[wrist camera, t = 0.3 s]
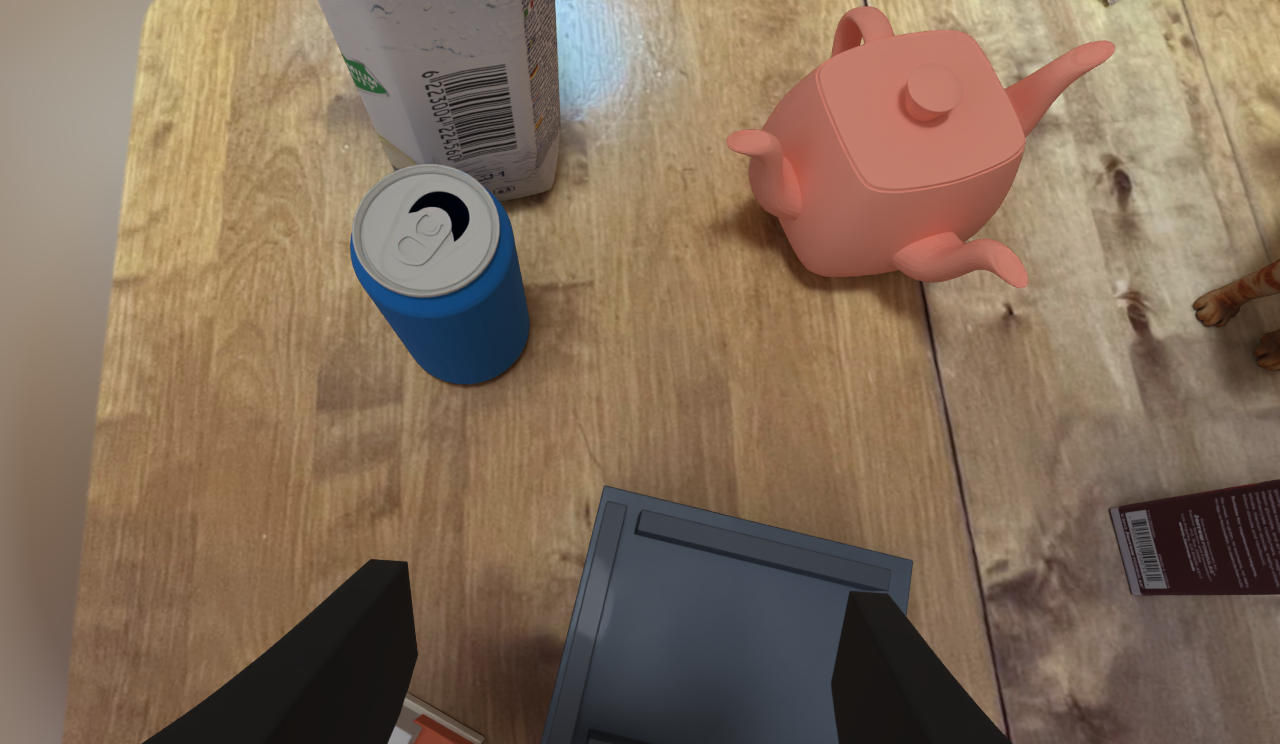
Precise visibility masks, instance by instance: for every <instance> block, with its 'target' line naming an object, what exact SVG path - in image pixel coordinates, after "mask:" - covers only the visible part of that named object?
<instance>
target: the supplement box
mask: <svg viewBox="0 0 1280 744" xmlns="http://www.w3.org/2000/svg"><path fill="white" fill-rule="evenodd" d="M1110 512H1111V515H1112V519H1113V523H1114V527H1115V531H1116V535H1117V539H1118V542H1119V547H1120V550H1121V554H1122V558H1123V562H1124V566H1125V571H1126V574H1127V578H1128V581H1129V584H1130V589H1131V593H1132V594H1133V595H1270V594H1280V479H1278V480H1272V481H1266V482H1260V483H1254V484H1249V485H1243V486H1237V487H1231V488H1225V489H1219V490H1213V491H1208V492H1202V493H1196V494H1190V495H1184V496H1178V497H1172V498H1166V499H1160V500H1154V501H1148V502H1142V503H1136V504H1130V505H1125V506H1120V507H1114V508H1111V509H1110Z"/></svg>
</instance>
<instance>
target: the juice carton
mask: <svg viewBox="0 0 1280 744" xmlns="http://www.w3.org/2000/svg"><path fill="white" fill-rule="evenodd" d="M318 2H319V4H320V6H321V8H322V11H323V13H324V15H325V17H326V20H327V22H328V24H329V26H330V29H331V31H332V33H333V35H334V38H335V40H336V42H337V44H338V47H339V49H340V51H341V53H342V56H343V58H344V60H345V62H346V65H347V67H348V69H349V71H350V74H351V76H352V78H353V80H354V83H355V85H356V87H357V89H358V92H359V94H360V96H361V98H362V101H363V103H364V105H365V107H366V110H367V112H368V114H369V116H370V119H371V121H372V123H373V125H374V127H375V130H376V132H377V134H378V136H379V139H380V141H381V143H382V145H383V147H384V150H385V152H386V154H387V156H388V158H389V160H390V162H391V164H392V166H393V168H394V170H395V171H397V170H400V169H403V168H406V167H410V166H414V165H422V164H437V165H444V166H448V167H452V168H455V169H458V170H460V171H463V172H464V173H466V174H468V175H470V176H471V177H473V178H474V179H476V180H477V181H478V182H479V183H480V184H481V185H482V186H484V187H485V188H487V189H488V190H489V191H490V192H491V193H492V194H493V195H494V196H495V197H496V198H497V199H498V201H499V202H501V201H506V200H511V199H516V198H521V197H526V196H530V195H535V194H539V193H542V192H545V191H548V190H549V189H551V187H552V186H553V183H554V178H555V173H556V166H557V159H558V152H559V144H560V103H559V79H558V56H557V34H556V11H555V0H318Z"/></svg>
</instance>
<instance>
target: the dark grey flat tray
mask: <svg viewBox="0 0 1280 744" xmlns="http://www.w3.org/2000/svg"><path fill="white" fill-rule="evenodd" d="M912 566H913V561H912V560H909V559H905V558H901V557H896V556H892V555H888V554H884V553H880V552H876V551H872V550H868V549H864V548H860V547H855V546H851V545H847V544H843V543H839V542H835V541H831V540H827V539H823V538H818V537H814V536H810V535H806V534H802V533H798V532H794V531H790V530H786V529H782V528H777V527H773V526H769V525H765V524H761V523H757V522H753V521H749V520H745V519H740V518H736V517H732V516H728V515H724V514H720V513H716V512H712V511H708V510H704V509H699V508H695V507H691V506H687V505H683V504H679V503H675V502H671V501H667V500H662V499H658V498H654V497H650V496H646V495H642V494H638V493H634V492H630V491H626V490H621V489H617V488H613V487H609V486H604V488H603V492H602V496H601V500H600V504H599V508H598V512H597V516H596V520H595V524H594V528H593V532H592V536H591V540H590V545H589V549H588V553H587V557H586V561H585V565H584V569H583V573H582V577H581V581H580V585H579V589H578V593H577V597H576V601H575V606H574V610H573V614H572V618H571V622H570V626H569V630H568V634H567V638H566V642H565V646H564V650H563V654H562V658H561V662H560V667H559V671H558V675H557V679H556V683H555V687H554V691H553V695H552V699H551V703H550V707H549V711H548V715H547V719H546V723H545V727H544V732H543V736H542V740H541V744H839V742H838V735H837V728H836V721H835V714H834V706H833V698H832V690H831V680H832V675H833V670H834V665H835V660H836V655H837V650H838V645H839V641H840V636H841V631H842V626H843V621H844V616H845V611H846V606H847V601H848V596H849V591H859V592H875V593H888V594H889V595H890V597H891V598H892V599H893V600H894V601H895V603H896V604H897V605H898V606H899V608H900V609H901V610H902V612H903V613H904V614H905V616H906V614H907V606H908V598H909V590H910V582H911V574H912Z"/></svg>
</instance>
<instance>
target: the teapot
mask: <svg viewBox="0 0 1280 744" xmlns="http://www.w3.org/2000/svg"><path fill="white" fill-rule="evenodd" d="M862 37H863V40H864V43H865V44H864V45H861V46H860V43H861V39H862ZM1114 51H1115V46H1114V44H1113V43H1111V42H1109V41H1095V42H1090V43H1087V44H1084V45H1081V46H1079V47H1077V48H1074V49H1073V50H1071V51H1069V52H1067V53H1066V54H1064V55H1062V56H1060V57H1059V58H1057V59H1055V60H1054V61H1052V62H1050V63H1049V64H1047V65H1046V66H1044V67H1042V68H1041V69H1039V70H1037V71H1036V72H1034V73H1032V74H1031V75H1029V76H1027V77H1026V78H1024V79H1022V80H1021V81H1019V82H1017V83H1015V84H1013V85H1012V86H1010V87H1008V88H1006V89H1004V88H1003V87H1002V85H1001V83H1000V81H999V79H998V77H997V75H996V73H995V71H994V69H993V68H992V66H991V64H990V62H989V60H988V59H987V57H986V55H985V54H984V52H983V51H982V49H981V48H980V46H979V45H978V43H977V42H976V41H975V40H974V39H973V38H972V36H970V35H968V34H966V33H963V32H960V31H953V30H935V31H924V32H916V33H909V34H903V35H897V36H894V33H893V30H892V27H891V25H890V22H889V20H888V19H887V17H886V16H885V15H884V14H883V12H881V11H880V10H878V9H876V8H874V7H868V6H864V7H858V8H854V9H852V10H850V11H848V12H847V13H845V14H844V15H843V17H842V18H841V20H840V22H839V24H838V27H837V30H836V33H835V38H834V43H833V48H832V55H831V58H830V59H828V60H826V61H825V62H824V63H822V64H821V65H820V66H818V67H817V68H816V69H815V70H813V71H812V72H811V73H810V74H808V75H807V76H806V77H805V78H804V79H803V80H801V81H800V82H799V83H798V84H797V85H796V86H795V87H794V88H792V89H791V90H790V91H789V92H788V93H787V94H786V95H785V96H784V98H783V99H782V100H781V101H780V102H779V103H778V105H777V106H776V108H775V109H774V111H773V112H772V114H771V115H770V117H769V118H768V120H767V122H766V123H765V125H764V127H763V129H762V130H756V129H749V130H741V131H738V132H734V133H733V134H731V135H729V136H728V137H727V139H726V144H727V146H728V147H729V148H730V149H732V150H733V151H735V152H738V153H741V154H745V155H748V156H751V157H752V158H751V161H750V166H749V179H750V184H751V188H752V191H753V194H754V196H755V198H756V200H757V201H758V202H759V204H760V205H761V206H762V207H763V209H764V210H766V211H767V212H768V213H770V214H772V215H774V216H777V217H778V219H779V221H780V223H781V226H782V228H783V230H784V232H785V234H786V236H787V238H788V240H789V242H790V244H791V246H792V248H793V250H794V251H795V253H796V255H797V257H798V258H799V260H800V262H801V263H802V264H803V265H804V266H805V268H806V269H808V270H809V271H811V272H812V273H815V274H818V275H820V276H826V277H852V276H865V275H873V274H881V273H887V272H893V271H897V270H900V271H901V272H903V273H904V274H905V275H907V276H909V277H911V278H913V279H915V280H918V281H924V282H941V281H946V280H950V279H954V278H957V277H960V276H962V275H964V274H967V273H969V272H972V271H974V270H987V271H991V272H993V273H994V274H996V275H997V276H999V277H1000V278H1002V279H1003V280H1004V281H1005V282H1007V283H1009V284H1010V285H1012V286H1014V287H1017V288H1024V287H1026V286H1027V284H1028V276H1027V273H1026V270H1025V268H1024V266H1023V265H1022V263H1021V261H1020V260H1019V258H1018V257H1017V256H1016V255H1015V254H1014V252H1013V251H1012V250H1010V249H1009V248H1008V247H1007V246H1006V245H1004V244H1002V243H1000V242H998V241H995V240H993V239H978V240H973V241H971V242H968V243H966V244H965V243H963V242H965V241H966V240H968V239H969V238H970V237H972V236H973V235H975V234H976V233H977V232H978V231H979V230H980V229H981V228H982V227H983V226H984V225H985V224H986V223H987V222H988V221H989V220H990V219H991V217H992V216H993V215H994V214H995V213H996V211H997V210H998V208H999V207H1000V205H1001V204H1002V202H1003V200H1004V199H1005V197H1006V195H1007V193H1008V191H1009V190H1010V188H1011V186H1012V183H1013V181H1014V179H1015V176H1016V173H1017V171H1018V168H1019V165H1020V162H1021V159H1022V156H1023V152H1024V148H1025V144H1026V142H1025V138H1026V137H1027V135H1028V134H1029V133H1030V132H1031V131H1032V130H1033V128H1034V127H1035V126H1036V125H1037V123H1038V122H1039V121H1040V119H1041V118H1042V117H1043V115H1044V114H1045V112H1046V111H1047V110H1048V108H1049V107H1050V106H1051V105H1052V103H1053V102H1054V101H1055V100H1056V99H1057V97H1058V96H1059V95H1060V94H1061V93H1062V92H1063V91H1064V90H1065V89H1066V88H1067V87H1068V86H1069V85H1070V84H1071V83H1073V82H1074V81H1075V80H1077V79H1078V78H1079V77H1080V76H1082V75H1084V74H1085V73H1087V72H1088V71H1090V70H1092V69H1093V68H1095V67H1097V66H1098V65H1100V64H1101V63H1103V62H1105V61H1106V60H1107V59H1108V58H1109V57H1110V56H1111V55H1112V54H1113V53H1114Z"/></svg>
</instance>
